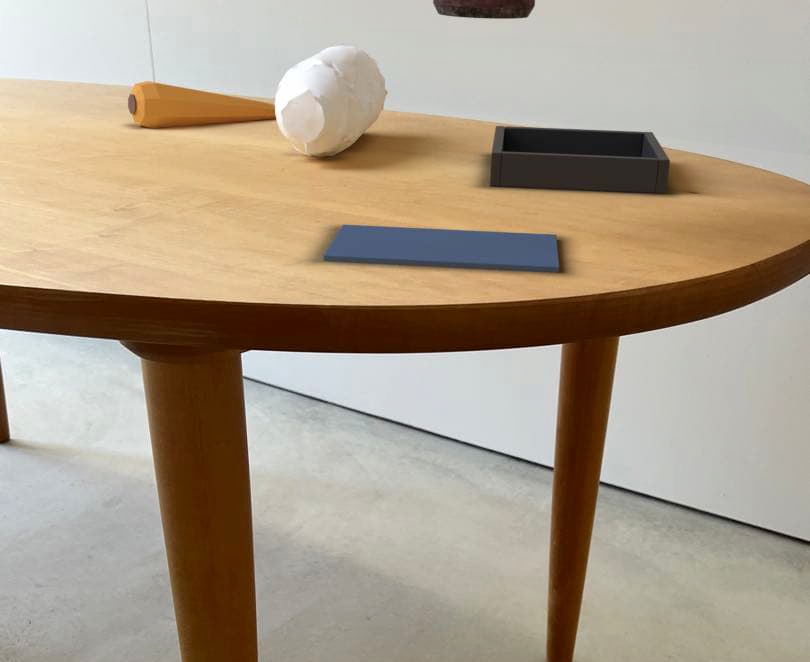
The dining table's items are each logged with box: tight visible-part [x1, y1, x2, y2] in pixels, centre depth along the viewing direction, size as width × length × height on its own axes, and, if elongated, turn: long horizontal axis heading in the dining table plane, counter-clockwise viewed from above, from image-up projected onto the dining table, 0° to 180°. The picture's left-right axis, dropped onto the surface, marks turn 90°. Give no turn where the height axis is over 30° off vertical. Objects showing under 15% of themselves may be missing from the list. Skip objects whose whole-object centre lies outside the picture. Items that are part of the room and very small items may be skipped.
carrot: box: [127, 80, 276, 129], centre depth 112 cm, size 20×4×4 cm, turn 124°
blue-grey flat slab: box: [322, 224, 560, 274], centre depth 69 cm, size 14×8×1 cm, turn 84°
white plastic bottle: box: [274, 44, 389, 158], centre depth 97 cm, size 8×19×8 cm, turn 172°
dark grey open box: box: [489, 125, 671, 196], centre depth 91 cm, size 14×14×3 cm
